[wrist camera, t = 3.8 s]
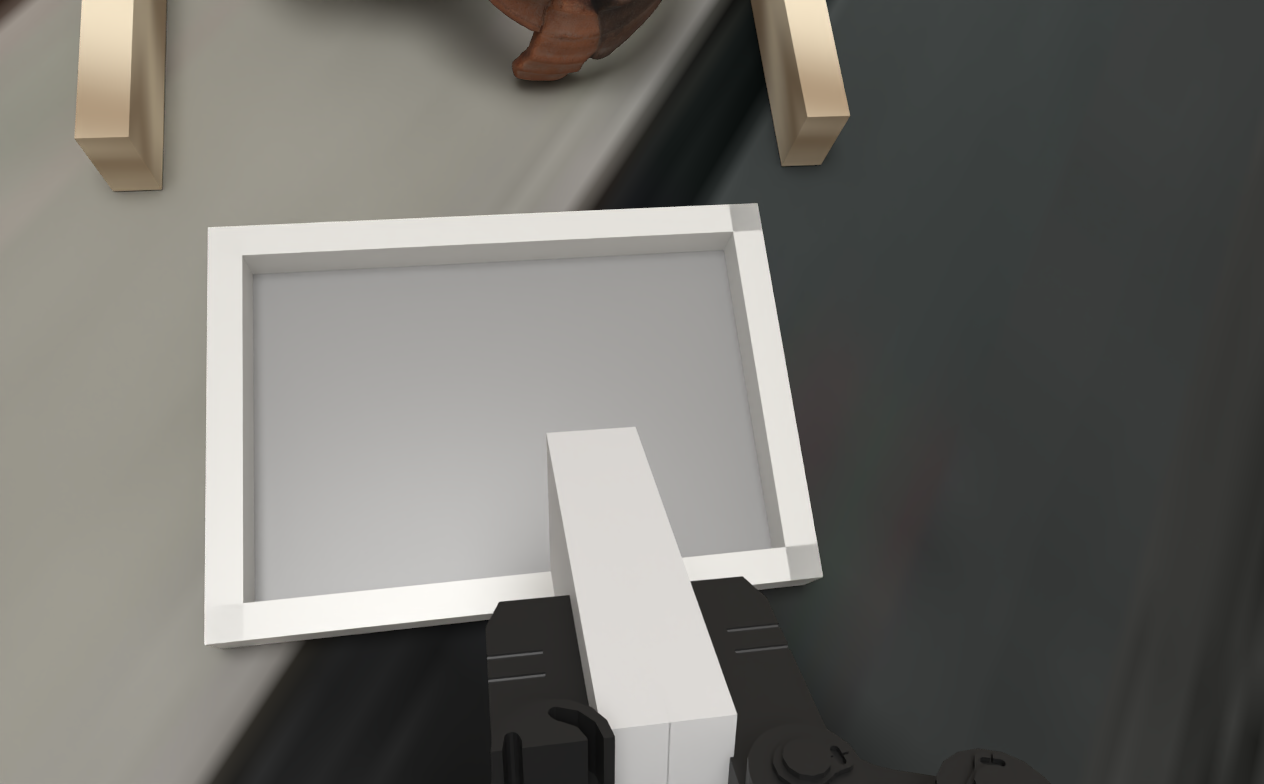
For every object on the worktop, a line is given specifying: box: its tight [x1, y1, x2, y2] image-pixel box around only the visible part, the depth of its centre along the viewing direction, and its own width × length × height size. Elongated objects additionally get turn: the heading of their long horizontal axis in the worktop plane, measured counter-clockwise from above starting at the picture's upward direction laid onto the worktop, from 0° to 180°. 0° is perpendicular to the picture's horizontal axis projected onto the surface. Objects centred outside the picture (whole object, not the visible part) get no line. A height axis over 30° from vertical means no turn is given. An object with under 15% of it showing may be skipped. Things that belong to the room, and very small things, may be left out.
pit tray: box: [204, 203, 823, 649], centre depth 24 cm, size 10×14×2 cm
